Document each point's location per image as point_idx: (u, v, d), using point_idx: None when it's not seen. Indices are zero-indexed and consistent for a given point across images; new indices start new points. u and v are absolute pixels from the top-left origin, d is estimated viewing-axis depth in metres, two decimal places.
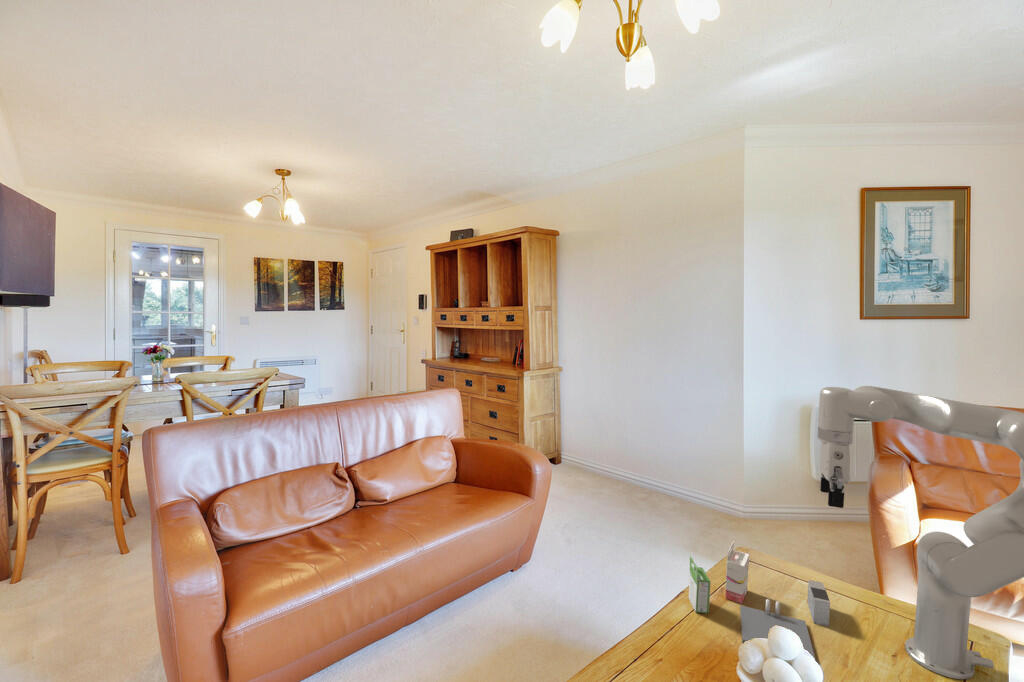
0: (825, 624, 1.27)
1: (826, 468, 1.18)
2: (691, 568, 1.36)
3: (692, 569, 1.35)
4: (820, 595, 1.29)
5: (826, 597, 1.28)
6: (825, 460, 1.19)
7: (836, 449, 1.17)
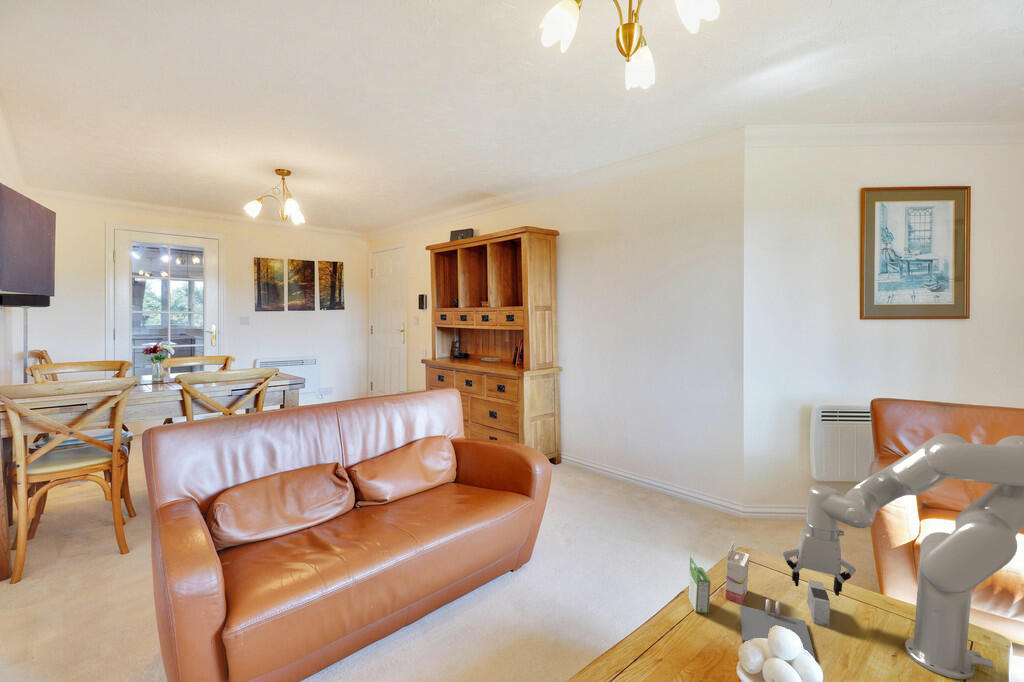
0: (825, 624, 1.27)
1: (836, 565, 1.27)
2: (691, 568, 1.36)
3: (692, 569, 1.35)
4: (820, 595, 1.29)
5: (826, 597, 1.28)
6: (833, 558, 1.27)
7: None
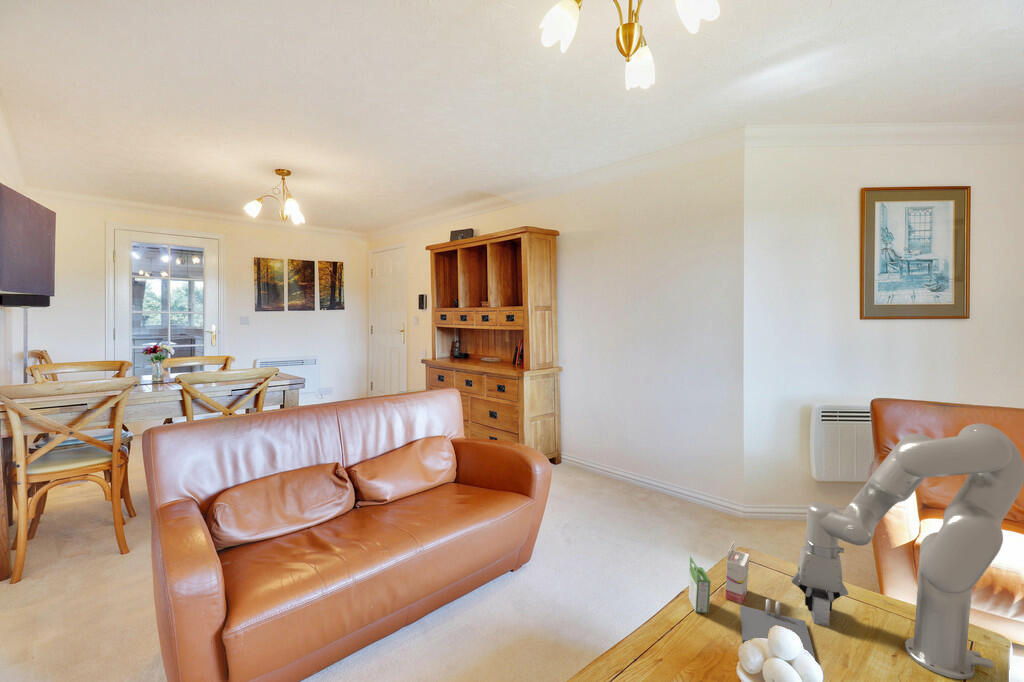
0: (825, 624, 1.27)
1: (837, 582, 1.27)
2: (691, 568, 1.36)
3: (692, 569, 1.35)
4: (820, 595, 1.29)
5: (826, 597, 1.28)
6: (834, 575, 1.28)
7: (840, 561, 1.28)
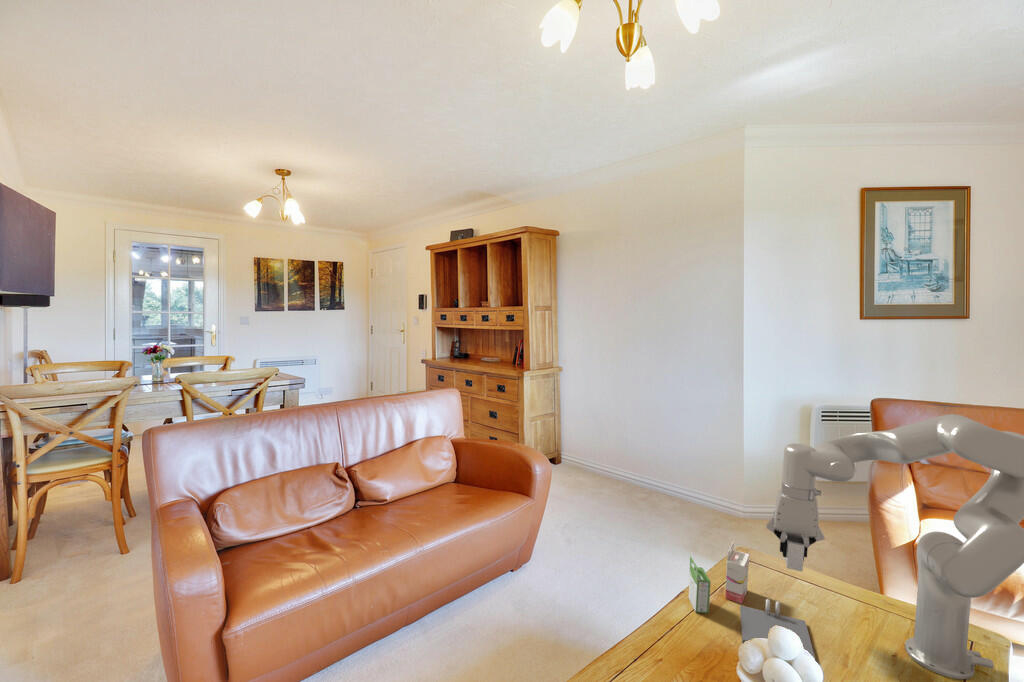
0: (799, 569, 1.21)
1: (813, 526, 1.21)
2: (691, 568, 1.36)
3: (692, 569, 1.35)
4: (795, 539, 1.23)
5: (801, 541, 1.22)
6: (810, 519, 1.21)
7: (817, 504, 1.22)
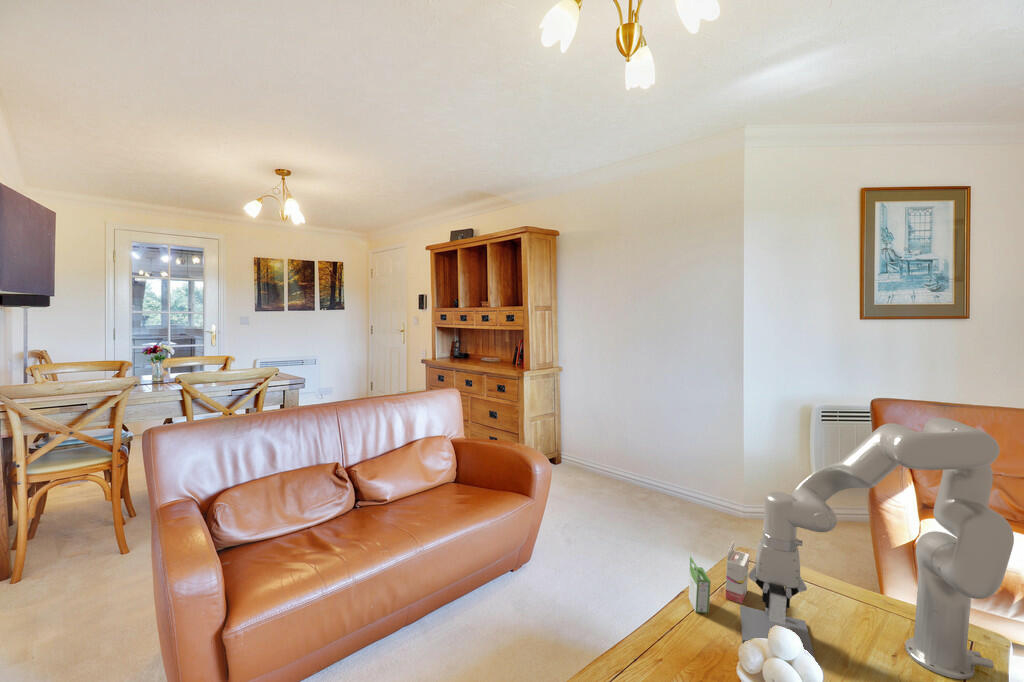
0: (781, 621, 1.19)
1: (795, 577, 1.19)
2: (691, 568, 1.36)
3: (692, 569, 1.35)
4: (777, 591, 1.21)
5: (783, 593, 1.20)
6: (792, 570, 1.19)
7: (798, 554, 1.20)
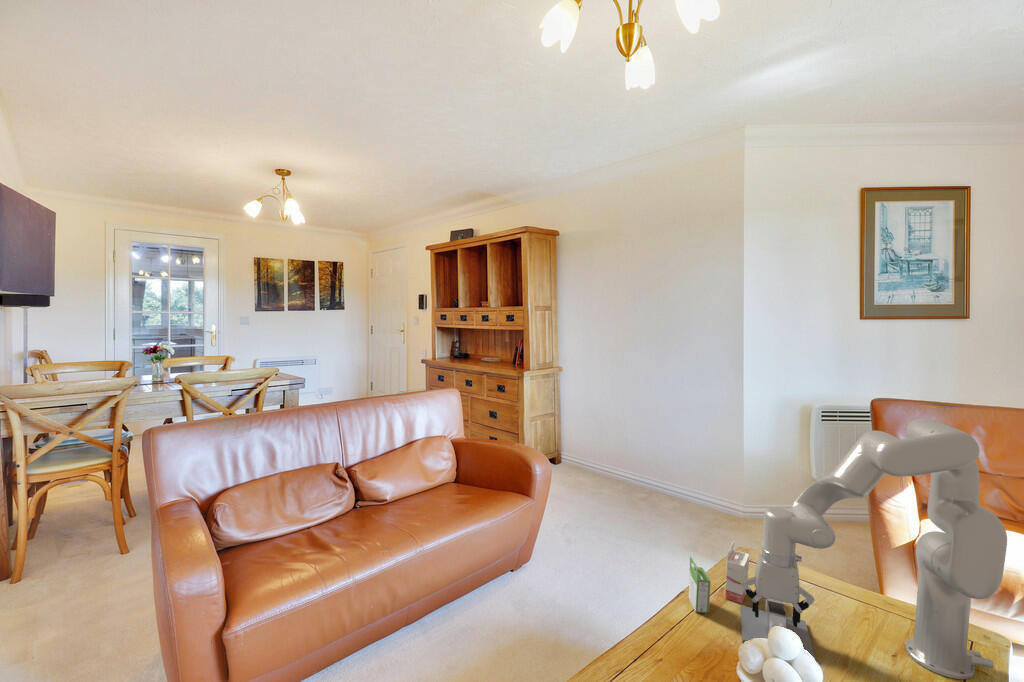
0: None
1: (794, 593, 1.19)
2: (691, 568, 1.36)
3: (692, 569, 1.35)
4: (777, 610, 1.21)
5: (783, 612, 1.20)
6: (791, 586, 1.20)
7: None
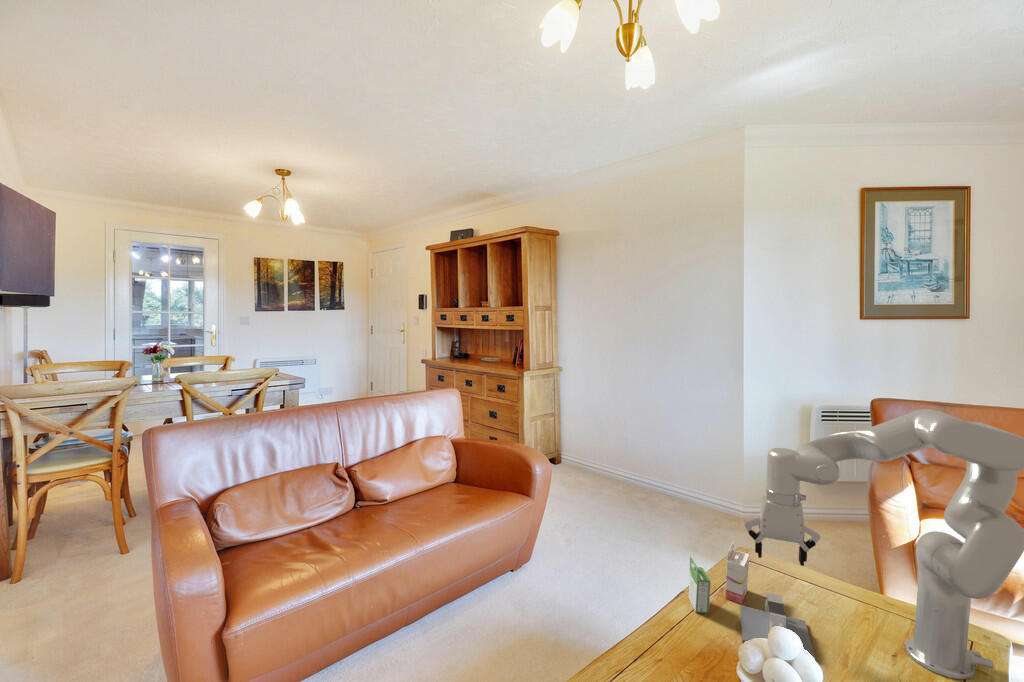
0: None
1: (799, 532, 1.19)
2: (691, 568, 1.36)
3: (692, 569, 1.35)
4: (777, 610, 1.21)
5: (783, 612, 1.20)
6: (796, 524, 1.19)
7: (802, 509, 1.20)
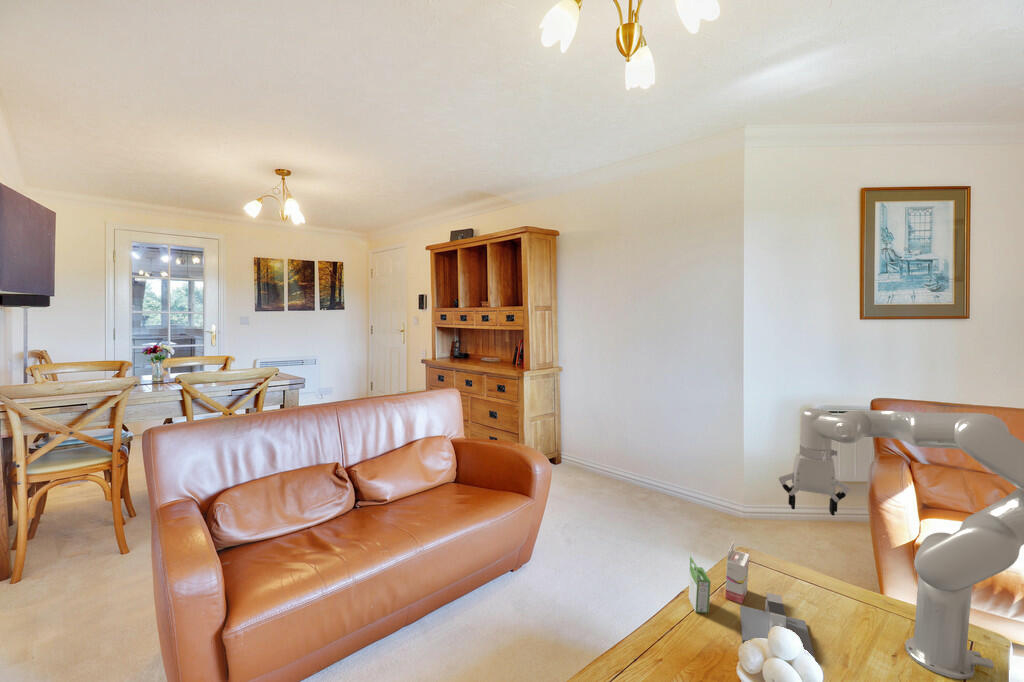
0: None
1: (831, 484, 1.30)
2: (691, 568, 1.36)
3: (692, 569, 1.35)
4: (777, 610, 1.21)
5: (783, 612, 1.20)
6: (827, 477, 1.30)
7: (833, 463, 1.31)
